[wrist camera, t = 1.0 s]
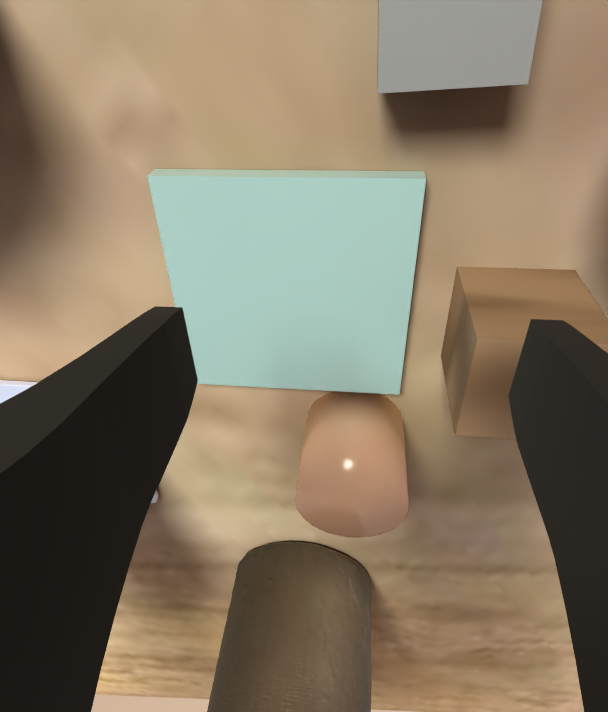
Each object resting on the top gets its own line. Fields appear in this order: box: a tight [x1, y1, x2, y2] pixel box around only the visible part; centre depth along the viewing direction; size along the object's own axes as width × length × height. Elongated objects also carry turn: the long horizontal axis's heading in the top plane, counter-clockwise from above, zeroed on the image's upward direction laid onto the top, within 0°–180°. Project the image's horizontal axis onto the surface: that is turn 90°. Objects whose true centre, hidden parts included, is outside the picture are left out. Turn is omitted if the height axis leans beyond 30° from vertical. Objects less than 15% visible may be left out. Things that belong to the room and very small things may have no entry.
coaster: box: [147, 169, 426, 395], centre depth 21 cm, size 10×10×1 cm
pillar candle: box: [207, 541, 371, 712], centre depth 30 cm, size 10×10×15 cm
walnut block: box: [441, 267, 608, 439], centre depth 19 cm, size 4×4×5 cm
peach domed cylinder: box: [295, 391, 409, 537], centre depth 24 cm, size 5×5×5 cm
